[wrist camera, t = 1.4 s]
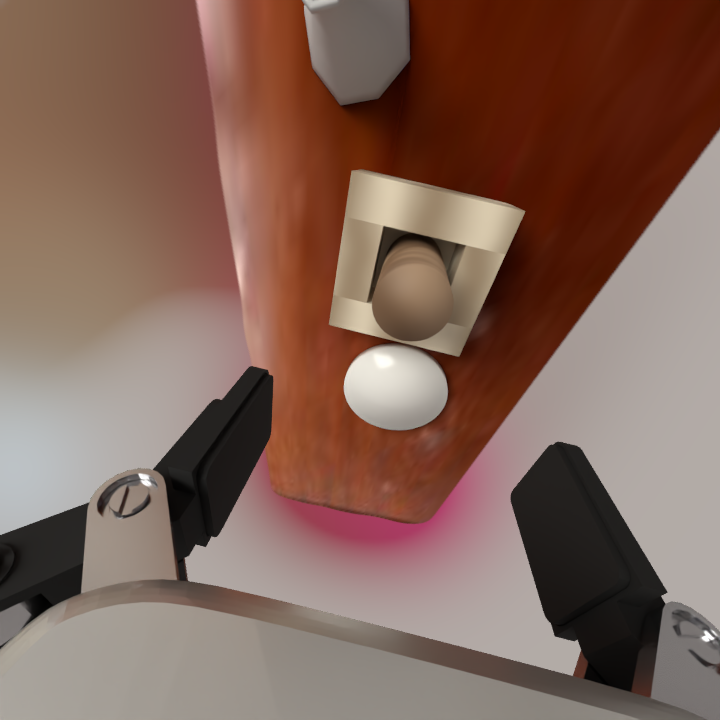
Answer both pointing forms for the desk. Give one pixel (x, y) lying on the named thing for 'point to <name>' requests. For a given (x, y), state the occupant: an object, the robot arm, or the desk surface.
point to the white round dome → (396, 386)
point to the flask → (357, 45)
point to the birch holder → (426, 217)
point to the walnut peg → (413, 290)
